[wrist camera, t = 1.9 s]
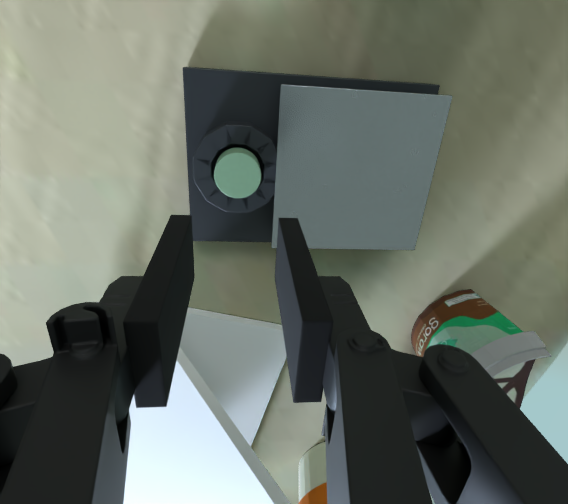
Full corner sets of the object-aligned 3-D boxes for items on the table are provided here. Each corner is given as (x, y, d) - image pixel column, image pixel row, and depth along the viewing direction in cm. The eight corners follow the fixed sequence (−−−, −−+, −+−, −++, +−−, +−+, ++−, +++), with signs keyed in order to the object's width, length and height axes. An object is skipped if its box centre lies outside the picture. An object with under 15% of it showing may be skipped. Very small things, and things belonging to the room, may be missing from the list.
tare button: (215, 146, 25) (213, 151, 23) (260, 148, 25) (262, 153, 24) (215, 190, 26) (214, 197, 25) (259, 191, 26) (260, 199, 25)
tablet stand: (294, 326, 35) (333, 525, 20) (232, 488, 46) (227, 700, 31) (89, 288, 32) (-51, 500, 16) (71, 475, 42) (-25, 710, 27)
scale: (185, 66, 25) (178, 67, 22) (431, 83, 27) (452, 86, 24) (193, 233, 30) (188, 250, 28) (397, 237, 32) (411, 253, 30)
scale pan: (280, 84, 23) (280, 84, 23) (450, 95, 24) (452, 95, 24) (271, 245, 28) (271, 248, 28) (412, 248, 29) (414, 250, 29)
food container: (410, 278, 34) (469, 354, 25) (475, 275, 35) (554, 349, 26) (391, 378, 40) (433, 470, 31) (446, 374, 40) (504, 463, 32)
